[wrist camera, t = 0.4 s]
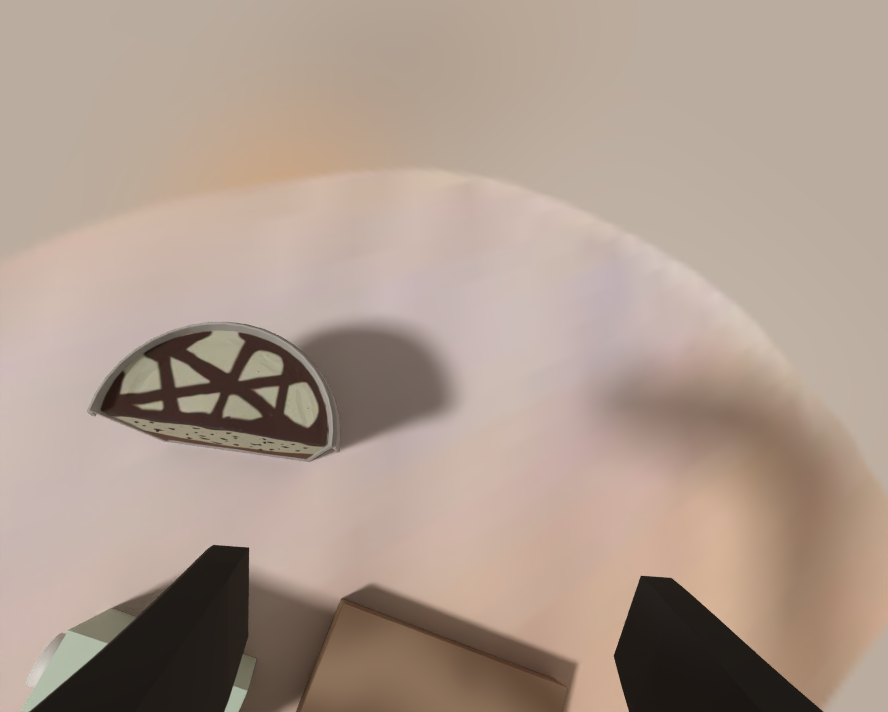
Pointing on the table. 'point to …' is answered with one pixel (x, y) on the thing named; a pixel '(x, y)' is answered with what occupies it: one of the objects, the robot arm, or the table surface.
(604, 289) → the table surface
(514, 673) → the walnut stand
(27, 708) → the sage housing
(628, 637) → the robot arm
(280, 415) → the food container
